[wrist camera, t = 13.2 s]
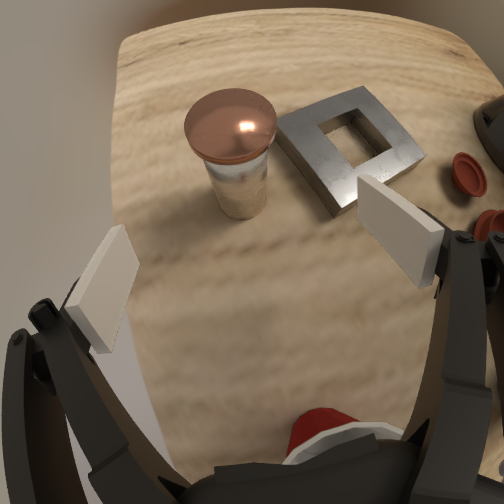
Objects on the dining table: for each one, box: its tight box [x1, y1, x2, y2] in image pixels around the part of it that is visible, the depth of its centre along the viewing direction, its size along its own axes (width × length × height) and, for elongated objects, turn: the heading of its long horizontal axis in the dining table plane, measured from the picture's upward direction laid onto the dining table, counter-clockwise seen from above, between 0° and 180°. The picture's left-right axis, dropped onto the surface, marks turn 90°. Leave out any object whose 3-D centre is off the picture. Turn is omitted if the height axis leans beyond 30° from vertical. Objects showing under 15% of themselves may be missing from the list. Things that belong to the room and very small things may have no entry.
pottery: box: [452, 152, 504, 281], centre depth 26 cm, size 12×20×4 cm, turn 22°
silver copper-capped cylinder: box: [184, 88, 277, 220], centre depth 23 cm, size 6×6×13 cm
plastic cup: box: [282, 408, 404, 465], centre depth 18 cm, size 11×11×12 cm
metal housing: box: [274, 86, 426, 218], centre depth 29 cm, size 14×12×3 cm
